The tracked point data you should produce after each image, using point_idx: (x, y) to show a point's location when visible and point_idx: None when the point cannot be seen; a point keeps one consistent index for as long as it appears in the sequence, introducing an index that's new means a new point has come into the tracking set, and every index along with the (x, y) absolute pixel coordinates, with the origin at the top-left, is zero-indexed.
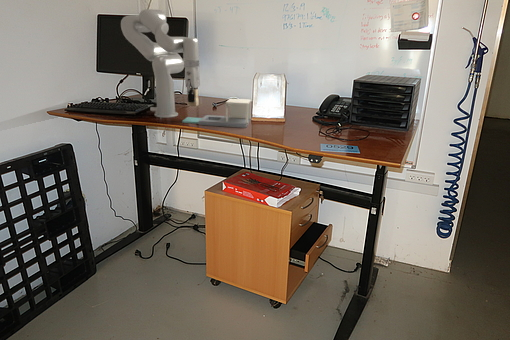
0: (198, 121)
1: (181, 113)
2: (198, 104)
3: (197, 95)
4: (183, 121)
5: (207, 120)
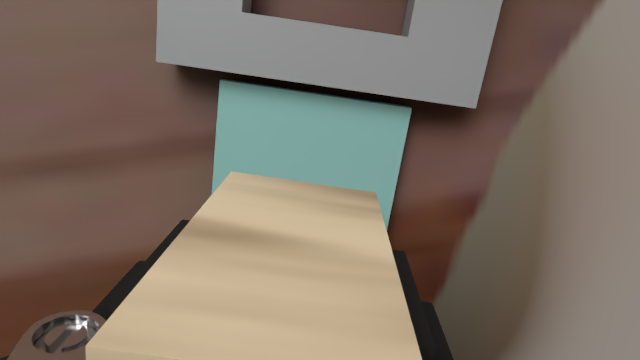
0: (384, 118)
1: (3, 327)
2: (237, 173)
3: (244, 253)
4: None
5: (448, 3)
